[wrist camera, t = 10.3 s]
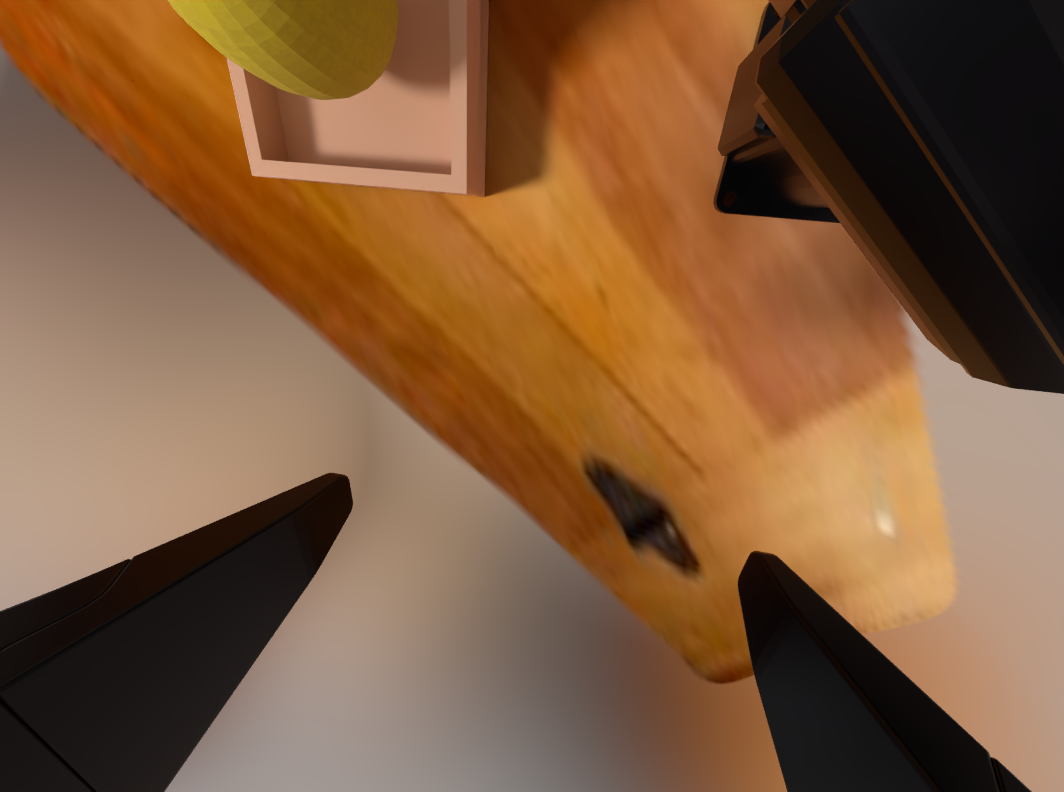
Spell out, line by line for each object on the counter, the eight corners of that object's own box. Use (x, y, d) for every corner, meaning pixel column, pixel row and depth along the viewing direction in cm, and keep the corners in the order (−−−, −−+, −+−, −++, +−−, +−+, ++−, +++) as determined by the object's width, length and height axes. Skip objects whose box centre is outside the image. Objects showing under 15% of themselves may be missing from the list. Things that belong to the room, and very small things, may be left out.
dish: (492, -170, 12) (467, -257, 10) (484, 196, 17) (466, 194, 14) (237, -161, 13) (162, -238, 11) (296, 180, 18) (252, 175, 16)
